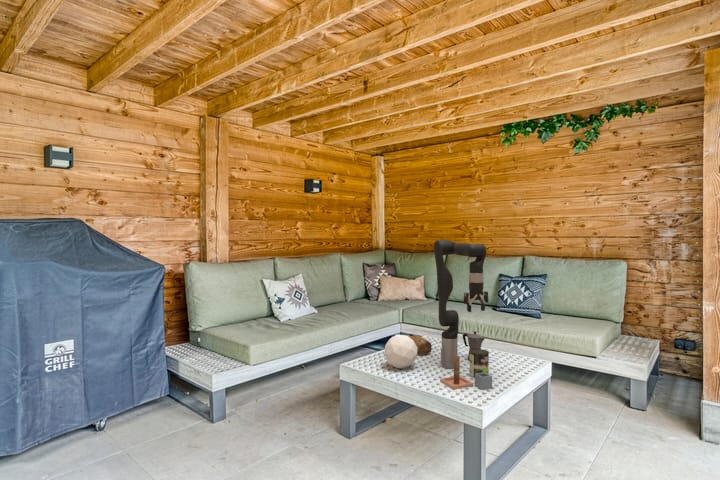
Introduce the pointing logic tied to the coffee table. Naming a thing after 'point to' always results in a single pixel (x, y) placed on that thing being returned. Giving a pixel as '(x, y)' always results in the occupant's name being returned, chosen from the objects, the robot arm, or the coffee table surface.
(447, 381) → the tray
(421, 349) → the petrified wood
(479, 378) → the holder
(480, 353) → the coffee can
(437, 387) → the coffee table surface
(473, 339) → the coffeepot
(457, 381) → the dowel
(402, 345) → the geometric orb
